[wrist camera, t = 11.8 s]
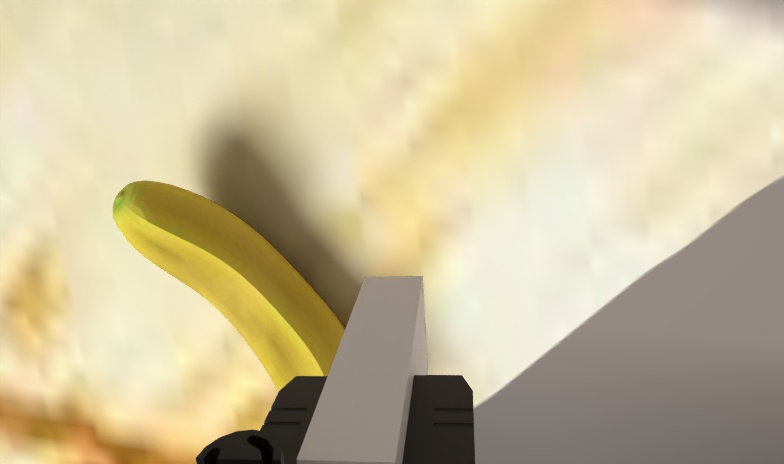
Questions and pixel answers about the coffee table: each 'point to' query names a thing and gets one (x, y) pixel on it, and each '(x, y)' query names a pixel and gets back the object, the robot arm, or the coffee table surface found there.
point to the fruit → (233, 276)
